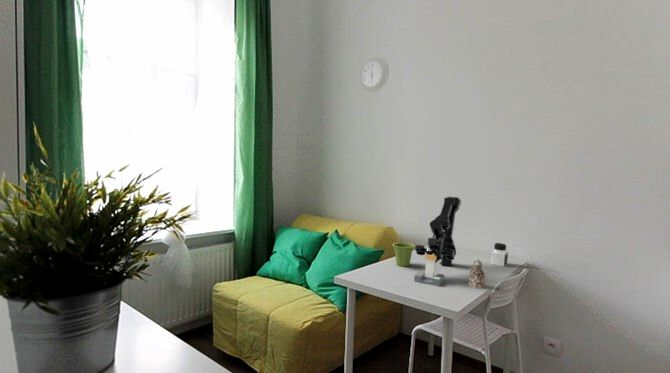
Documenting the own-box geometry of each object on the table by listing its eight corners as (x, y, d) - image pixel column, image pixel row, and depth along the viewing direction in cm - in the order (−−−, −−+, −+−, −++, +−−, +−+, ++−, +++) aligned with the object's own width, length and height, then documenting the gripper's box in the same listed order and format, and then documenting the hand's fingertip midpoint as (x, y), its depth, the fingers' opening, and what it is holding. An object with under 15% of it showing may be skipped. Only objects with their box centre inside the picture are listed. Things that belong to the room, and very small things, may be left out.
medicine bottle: (504, 266, 208) (505, 245, 207) (490, 264, 212) (492, 243, 211) (507, 264, 213) (508, 243, 212) (494, 261, 218) (495, 241, 217)
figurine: (466, 286, 175) (467, 260, 174) (470, 282, 181) (471, 257, 180) (482, 289, 171) (484, 263, 170) (486, 285, 177) (487, 260, 176)
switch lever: (425, 275, 183) (427, 254, 183) (435, 277, 180) (436, 255, 181) (423, 276, 180) (425, 254, 181) (433, 278, 178) (435, 256, 178)
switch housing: (420, 276, 188) (420, 270, 187) (444, 280, 181) (444, 274, 181) (414, 281, 180) (414, 274, 180) (439, 286, 174) (439, 279, 173)
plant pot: (412, 262, 213) (413, 242, 212) (414, 268, 201) (415, 247, 200) (391, 261, 214) (392, 242, 213) (392, 267, 202) (393, 246, 201)
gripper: (416, 229, 189) (408, 255, 181) (454, 233, 180) (447, 261, 171) (420, 241, 197) (413, 266, 188) (457, 245, 187) (451, 273, 179)
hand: (430, 267), depth 182 cm, fingers closed, pressing on switch lever
